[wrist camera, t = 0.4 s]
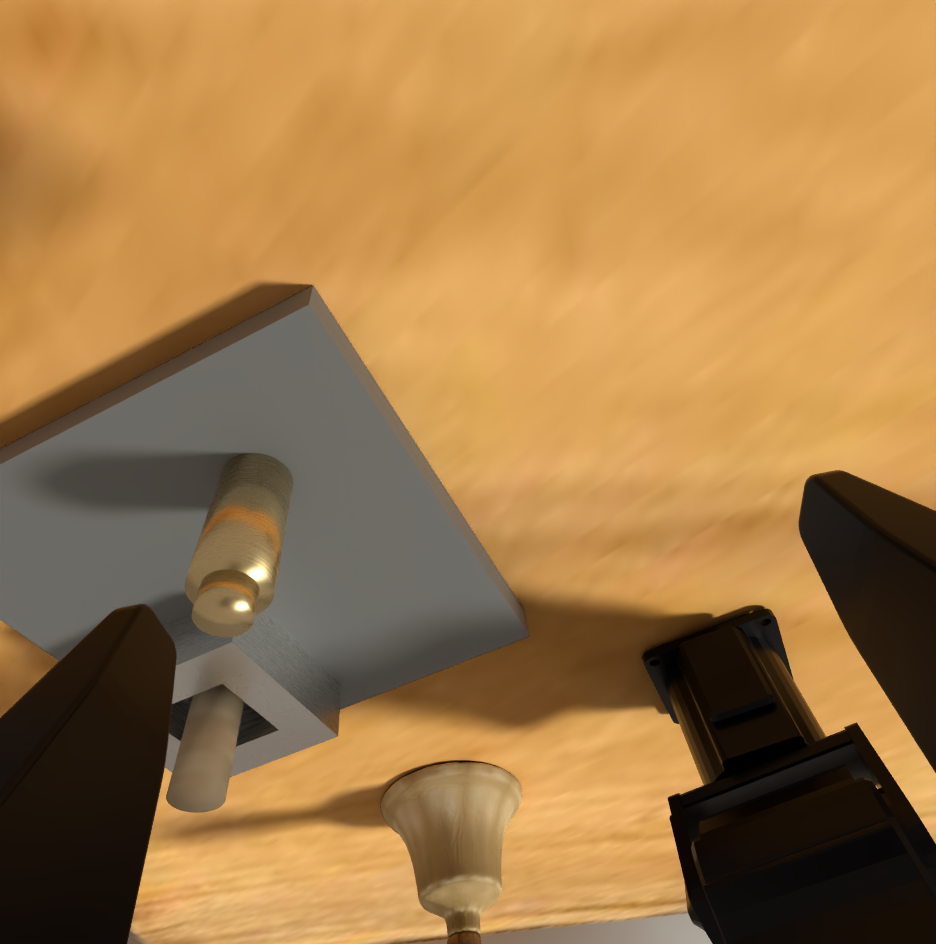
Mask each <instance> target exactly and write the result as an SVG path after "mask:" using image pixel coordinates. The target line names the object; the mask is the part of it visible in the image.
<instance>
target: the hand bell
mask: <svg viewBox="0 0 936 944" xmlns="http://www.w3.org/2000/svg"><path fill="white" fill-rule="evenodd" d="M521 796H522V789H521V785H520V783H519V781H518V780H517V779H516V778H515V777H514V776H513V775H512V774H510V773H509V772H507V771H506V770H504V769H502V768H499V767H496V766H493V765H490V764H485V763H474V762H463V763H458V762H453V763H445V764H440V765H434V766H429V767H426V768H423V769H421V770H418V771H416V772H413V773H411V774H409V775H407V776H405V777H402V778H401V779H400V780H398V781H397V782H395V783H394V784H393V785H392V786H391V787H390V788H389V789H388V790H387V791H386V793H385V795H384V796H383V799H382V802H381V811H382V814H383V817H384V818H385V820H386V822H387V823H388V825H389V826H390V827H391V828H392V829H393V830H394V831H395V832H396V833H398V834H399V835H400V836H401V838H402V839H403V841H404V843H405V844H406V846H407V849H408V851H409V854H410V857H411V860H412V864H413V868H414V873H415V878H416V884H417V890H418V898H419V901H420V904H421V905H422V907H423V908H424V909H425V910H427V911H428V912H430V913H433V914H435V915H438V916H440V917H442V918H444V919H445V921H446V924H447V933H448V938H449V939H448V941H447V944H481V937H480V915H481V913H482V912H483V911H484V910H485V909H487V908H488V907H490V906H491V905H493V904H494V903H495V902H496V901H497V900H498V898H499V896H500V894H501V891H502V880H501V854H502V844H503V838H504V833H505V830H506V827H507V825H508V823H509V820H510V819H511V818H512V817H513V816H514V814H515V813H516V811H517V809H518V807H519V804H520V801H521Z"/></svg>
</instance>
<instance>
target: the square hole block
mask: <svg viewBox="0 0 936 944" xmlns="http://www.w3.org/2000/svg"><path fill="white" fill-rule="evenodd" d="M191 615H192V613H191V614H188V615H186V616H184V617H181V618H179V619H177V620H174V621H172V622H170V623H168V624H165V625H163V626H164V627H165V629H166V630H167V632H168V633H169V635H170V636H171V638H172V639H173V641H174V644H175V647H176V653H177V660H176V670H175V680H174V690H173V700H172V709H171V719H170V729H169V739H168V748H167V755H166V763H165V768H167V769H168V770H170V771H171V772H173V769H174V765H175V761H176V758H177V754H178V750H179V746H180V743H181V739H182V735H183V731H184V728H185V724H186V720H187V716H188V712H189V709H190V705H191V701H192V697H193V695H196V694H198V693H201V692H203V691H206V690H208V689H211V688H213V687H215V686H218V685H220V684H223V685H224V686H226V687H227V688H228V689H229V690H231V691H232V692H233V693H234V694H235V695H237V696H238V697H239V698H240V699H242V700H243V701H244V705H243V711H242V716H241V721H240V726H239V731H238V736H237V742H236V747H235V752H234V757H233V762H232V767H231V773H230V777H232V776H234V775H237V774H240V773H242V772H245V771H248V770H250V769H253V768H256V767H258V766H261V765H264V764H266V763H269V762H271V761H274V760H277V759H279V758H282V757H285V756H287V755H290V754H293V753H295V752H298V751H301V750H303V749H306V748H309V747H311V746H314V745H317V744H319V743H322V742H325V741H327V740H330V739H332V738H335V737H338V731H339V714H340V698H341V684H340V683H339V682H338V681H337V680H336V679H334V678H333V677H332V676H331V675H330V674H329V673H328V672H327V671H326V670H325V669H324V668H323V667H322V666H321V665H320V664H319V663H318V662H317V661H316V660H315V659H314V658H313V657H312V656H311V655H310V654H309V653H308V652H307V651H306V650H305V649H304V648H303V647H301V646H300V645H299V644H298V643H297V642H296V641H295V640H294V639H293V638H292V637H291V636H290V635H289V634H288V633H287V632H286V631H285V630H284V629H283V628H282V627H281V626H280V625H279V624H278V623H277V622H276V621H275V620H274V619H273V618H272V617H271V616H270V615H269V614H267V613H266V612H265V611H262V612H261V613H259V614H257V615H255V619H254V623H253V625H252V627H251V628H250V629H249V630H248V631H247V632H245V633H243V634H241V635H238V636H234V637H218V636H213V635H210V634H207V633H205V632H203V631H202V630H200V629H199V628H198V627H197V626H196V625H195V624H194V622H193V620H192V616H191Z"/></svg>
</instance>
